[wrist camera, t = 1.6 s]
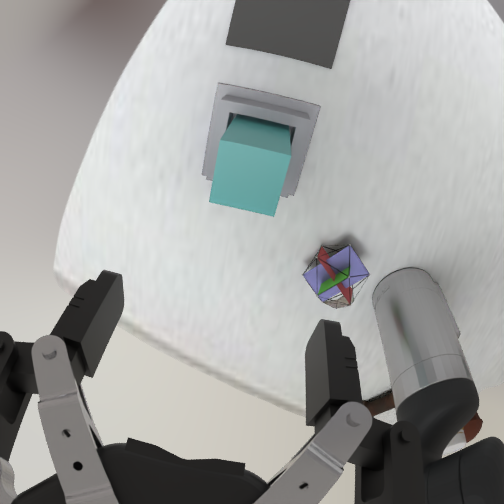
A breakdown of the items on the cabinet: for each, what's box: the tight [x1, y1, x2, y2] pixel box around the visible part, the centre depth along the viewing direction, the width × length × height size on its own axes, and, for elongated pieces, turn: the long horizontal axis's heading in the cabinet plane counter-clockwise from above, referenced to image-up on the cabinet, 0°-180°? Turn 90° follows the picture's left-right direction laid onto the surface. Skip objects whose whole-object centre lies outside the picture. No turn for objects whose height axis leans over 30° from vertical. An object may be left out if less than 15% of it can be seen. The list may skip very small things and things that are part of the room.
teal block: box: [209, 114, 291, 217], centre depth 27 cm, size 5×5×10 cm
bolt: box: [362, 392, 395, 417], centre depth 57 cm, size 6×5×15 cm
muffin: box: [463, 412, 483, 443], centre depth 59 cm, size 12×11×10 cm
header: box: [202, 83, 320, 198], centre depth 30 cm, size 10×10×4 cm
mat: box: [226, 0, 350, 69], centre depth 23 cm, size 10×10×1 cm
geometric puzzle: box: [302, 244, 370, 309], centre depth 37 cm, size 7×7×8 cm
